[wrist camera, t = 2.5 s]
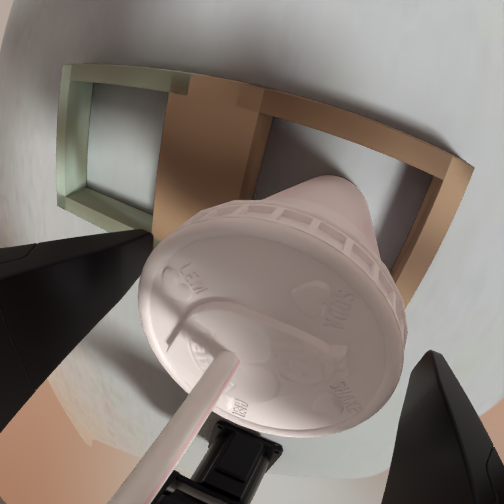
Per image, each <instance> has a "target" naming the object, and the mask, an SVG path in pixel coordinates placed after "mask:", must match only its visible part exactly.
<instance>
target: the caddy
mask: <svg viewBox="0 0 504 504" xmlns="http://www.w3.org/2000/svg"><path fill="white" fill-rule="evenodd" d="M93 82H94V83H104V84H113V85H122V86H130V87H137V88H144V89H151V90H157V91H163V92H169V96H168V101H167V107H166V114H165V120H164V126H163V133H162V140H161V148H160V155H159V163H158V171H157V180H156V190H155V200H154V211H153V215H151V214H148V213H146V212H143V211H141V210H139V209H136V208H134V207H131V206H129V205H127V204H124V203H122V202H120V201H117V200H115V199H112V198H110V197H108V196H105V195H103V194H100V193H98V192H96V191H93V190H91V189H89V188H86V176H87V148H88V131H89V119H90V108H91V98H92V90H93ZM273 116H274V117H278V118H281V119H285V120H288V121H291V122H295V123H298V124H301V125H304V126H308V127H311V128H314V129H317V130H320V131H323V132H326V133H329V134H332V135H335V136H338V137H340V138H343V139H346V140H349V141H352V142H354V143H357V144H360V145H362V146H365V147H368V148H370V149H373V150H375V151H378V152H380V153H383V154H385V155H388V156H390V157H393V158H395V159H397V160H400V161H402V162H405V163H407V164H409V165H411V166H414V167H416V168H418V169H420V170H423V171H425V172H427V173H429V174H431V175H433V178H432V181H431V183H430V186H429V188H428V191H427V193H426V196H425V198H424V200H423V203H422V205H421V207H420V210H419V212H418V214H417V217H416V219H415V221H414V223H413V226H412V228H411V230H410V232H409V234H408V237H407V239H406V241H405V243H404V245H403V247H402V249H401V251H400V254H399V256H398V258H397V260H396V262H395V264H394V266H393V268H392V270H391V272H390V274H391V276H392V278H393V280H394V282H395V284H396V286H397V288H398V290H399V292H400V294H401V296H402V299H403V302H404V308H406V307H407V305H408V303H409V302H410V300H411V298H412V297H413V295H414V293H415V291H416V290H417V288H418V286H419V284H420V283H421V281H422V279H423V277H424V275H425V274H426V272H427V270H428V268H429V266H430V264H431V263H432V261H433V259H434V257H435V255H436V253H437V251H438V249H439V247H440V245H441V243H442V241H443V239H444V237H445V235H446V233H447V231H448V229H449V227H450V224H451V222H452V220H453V218H454V216H455V214H456V211H457V209H458V207H459V205H460V202H461V200H462V198H463V195H464V193H465V191H466V188H467V186H468V183H469V181H470V178H471V176H472V173H473V171H474V167H473V166H471V165H470V164H469V163H467V162H466V161H464V160H463V159H461V158H459V157H457V156H455V155H453V154H451V153H449V152H447V151H445V150H443V149H441V148H439V147H436V146H434V145H432V144H430V143H428V142H426V141H423V140H421V139H419V138H416V137H414V136H412V135H410V134H407V133H405V132H402V131H400V130H398V129H395V128H393V127H390V126H388V125H385V124H383V123H380V122H377V121H375V120H372V119H369V118H367V117H364V116H361V115H358V114H355V113H353V112H350V111H347V110H344V109H341V108H338V107H335V106H332V105H328V104H325V103H322V102H319V101H315V100H312V99H309V98H305V97H302V96H298V95H294V94H291V93H287V92H283V91H279V90H275V89H271V88H267V87H263V86H259V85H254V84H250V83H245V82H241V81H236V80H231V79H226V78H220V77H215V76H209V75H203V74H197V73H190V72H184V71H176V70H168V69H160V68H151V67H140V66H128V65H113V64H64V65H63V66H62V74H61V82H60V92H59V103H58V117H57V139H56V185H57V206H59V207H61V208H63V209H65V210H67V211H69V212H70V213H72V214H74V215H76V216H78V217H80V218H82V219H84V220H86V221H88V222H90V223H92V224H94V225H96V226H98V227H100V228H102V229H104V230H106V231H108V232H118V231H125V230H133V229H144V230H147V231H149V232H151V233H152V234H153V236H154V243H153V250H154V249H155V247H156V246H157V245H158V244H159V243H160V242H161V241H162V240H163V239H165V238H166V237H167V236H168V235H170V234H171V233H173V232H174V231H175V230H176V228H178V227H179V226H180V225H182V224H183V223H185V222H186V221H187V220H189V219H190V218H191V217H193V216H194V215H195V214H197V213H198V212H199V211H201V210H204V209H208V208H211V207H214V206H217V205H220V204H224V203H227V202H230V201H233V200H253V196H254V192H255V187H256V183H257V179H258V175H259V171H260V167H261V163H262V159H263V155H264V151H265V147H266V143H267V139H268V135H269V131H270V127H271V123H272V119H273Z"/></svg>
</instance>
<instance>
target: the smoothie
mask: <svg viewBox="0 0 504 504" xmlns="http://www.w3.org/2000/svg"><path fill="white" fill-rule="evenodd" d="M138 307H139V313H140V318H141V322H142V326H143V329H144V332H145V334H146V337H147V339H148V342H149V344H150V346H151V348H152V350H153V351H154V353H155V355H156V356H157V358H158V360H159V362H160V363H161V364H162V366H163V367H164V368H165V369H166V371H167V372H168V373H169V375H170V376H171V377H172V378H173V379H174V380H175V381H176V382H177V383H178V384H179V385H180V386H181V387H182V388H183V389H184V390H185V391H186V392H187V393H188V394H189V395H188V396H187V398H186V399H185V400H184V402H183V403H182V404H181V406H180V407H179V409H178V410H177V411H176V413H175V414H174V416H173V417H172V418H171V420H170V421H169V422H168V424H167V425H166V426H165V428H164V429H163V431H162V432H161V433H160V435H159V436H158V437H157V439H156V440H155V441H154V443H153V444H152V445H151V447H150V448H149V449H148V451H147V452H146V453H145V455H144V456H143V457H142V459H141V460H140V461H139V463H138V464H137V466H136V467H135V468H134V469H133V471H132V472H131V473H130V475H129V476H128V477H127V479H126V480H125V481H124V483H123V484H122V485H121V487H120V488H119V489H118V490H117V492H116V493H115V494H114V496H113V497H112V498H111V500H110V501H109V502H108V503H107V504H150V503H151V502H152V501H153V499H154V498H155V496H156V495H157V493H158V492H159V491H160V489H161V488H162V486H163V485H164V483H165V482H166V480H167V479H168V477H169V476H170V474H171V473H172V471H173V470H174V468H175V467H176V465H177V464H178V462H179V461H180V459H181V458H182V456H183V455H184V453H185V452H186V450H187V449H188V447H189V446H190V444H191V443H192V441H193V440H194V438H195V437H196V435H197V434H198V432H199V430H200V429H201V427H202V426H203V424H204V423H205V421H206V419H207V418H208V416H209V415H210V413H211V412H212V411H213V412H215V413H216V414H218V415H220V416H221V417H223V418H226V419H228V420H230V421H232V422H234V423H236V424H238V425H241V426H244V427H247V428H249V429H252V430H255V431H258V432H263V433H267V434H272V435H277V436H285V437H297V438H304V437H320V436H325V435H330V434H334V433H339V432H342V431H344V430H347V429H350V428H352V427H354V426H357V425H359V424H361V423H362V422H364V421H366V420H367V419H369V418H370V417H371V416H373V415H374V414H375V413H377V412H378V411H379V410H380V409H381V408H382V407H383V406H384V405H385V403H386V402H387V401H388V400H389V399H390V397H391V395H392V394H393V392H394V391H395V389H396V386H397V384H398V382H399V379H400V376H401V372H402V367H403V360H404V348H405V344H406V339H407V334H408V331H407V323H406V316H405V308H404V302H403V299H402V296H401V294H400V292H399V290H398V288H397V286H396V284H395V282H394V280H393V278H392V276H391V274H390V273H389V271H388V269H387V267H386V265H385V264H384V263H383V262H382V261H381V258H380V254H379V249H378V245H377V241H376V236H375V232H374V228H373V224H372V220H371V216H370V212H369V209H368V205H367V202H366V199H365V197H364V196H363V194H362V192H361V191H360V190H359V189H358V188H357V187H356V186H355V185H354V184H353V183H351V182H350V181H348V180H346V179H344V178H341V177H338V176H333V175H323V176H318V177H315V178H312V179H310V180H307V181H305V182H303V183H300V184H298V185H295V186H293V187H291V188H288V189H286V190H283V191H281V192H279V193H276V194H274V195H272V196H269V197H267V198H265V199H262V200H233V201H230V202H227V203H224V204H220V205H217V206H214V207H211V208H208V209H204V210H201V211H199V212H198V213H197V214H195V215H194V216H193V217H191V218H190V219H189V220H187V221H186V222H185V223H183V224H182V225H180V226H179V227H178V228H176V230H175V231H174V232H173V233H171V234H170V235H168V236H167V237H166V238H165V239H163V240H162V241H161V242H160V243H159V244H158V245H157V246H156V247H155V249H154V250H153V251H152V253H151V254H150V256H149V257H148V259H147V261H146V263H145V265H144V267H143V270H142V273H141V276H140V281H139V287H138Z"/></svg>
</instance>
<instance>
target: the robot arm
mask: <svg viewBox="0 0 504 504" xmlns="http://www.w3.org/2000/svg"><path fill="white" fill-rule="evenodd" d="M153 243H154V236H153V234H152V233H151V232H149V231H147V230H144V229H133V230H125V231H118V232H110V233H103V234H95V235H88V236H81V237H74V238H67V239H61V240H54V241H47V242H41V243H38V244H37V243H34V244H28V245H21V246H14V247H6V248H0V433H1V431H2V430H3V429H4V428H5V427H6V425H7V424H8V423H9V422H10V421H11V419H12V418H13V417H14V416H15V415H16V413H17V412H18V411H19V410H20V409H21V408H22V406H23V405H24V404H25V403H26V402H27V401H28V399H29V398H30V397H31V396H32V395H33V394H34V392H35V391H36V390H37V389H38V387H39V386H40V385H41V384H42V383H43V382H44V381H45V380H46V379H47V377H48V376H49V375H50V374H51V373H52V372H53V371H54V370H55V369H56V367H57V366H58V365H59V364H60V363H61V362H62V361H63V360H64V359H65V358H66V356H67V355H68V354H69V353H70V352H71V351H72V350H73V349H74V348H75V347H76V346H77V345H78V343H79V342H80V341H81V340H82V339H83V338H84V337H85V336H86V335H87V334H88V333H89V332H90V331H91V330H92V329H93V328H94V327H95V326H96V324H97V323H98V322H99V321H100V320H101V319H102V318H103V317H104V316H105V315H106V314H107V313H108V312H109V311H110V310H111V309H112V308H113V307H114V306H115V305H116V304H117V303H118V302H119V301H120V300H121V299H122V297H123V296H124V295H125V294H126V293H127V291H128V290H129V289H130V288H131V286H132V285H133V284H134V283H135V281H136V280H137V279H138V278H139V276H140V275H141V273H142V270H143V267H144V265H145V263H146V261H147V259H148V257H149V256H150V254H151V253H152V251H153ZM208 448H209V449H208V451H207V453H206V454H205V456H204V458H203V459H202V461H201V463H200V464H199V466H198V467H197V469H196V471H195V472H194V474H193V475H192V477H191V479H189V478H187V477H185V476H183V475H181V474H180V473H179V472H177V471H175V470H173V471H172V473H171V474H170V476H169V477H168V479H167V480H166V482H165V483H164V485H163V486H162V488H161V489H160V491H159V492H158V493H157V495H156V496H155V498H154V499H153V501H152V502H151V503H150V504H250V503H251V501H252V499H253V497H254V495H255V493H256V491H257V489H258V486H259V484H260V482H261V480H262V478H263V476H264V474H265V473H266V472H267V471H268V470H269V468H270V467H271V466H272V465H273V464H274V463H275V462H276V460H277V459H278V458H279V457H280V456H281V455H282V452H283V449H282V448H281V447H279V446H276V445H274V444H271V443H269V442H267V441H264V440H262V439H259V438H257V437H255V436H253V435H250V434H248V433H246V432H243V431H241V430H239V429H237V428H235V427H233V426H230V425H228V424H226V423H224V422H222V421H217V422H216V424H215V426H214V430H213V433H212V436H211V439H210V442H209V445H208ZM0 504H6V503H5V502H4V501H3V500H2V499H1V497H0ZM381 504H504V465H503V463H502V461H501V459H500V457H499V455H498V453H497V451H496V449H495V447H493V443H492V441H491V439H490V437H489V435H488V433H487V432H486V430H485V428H484V426H483V424H482V422H481V420H480V418H479V417H478V415H477V413H476V411H475V409H474V407H473V406H472V404H471V402H470V400H469V399H468V397H467V395H466V393H465V392H464V390H463V388H462V387H461V385H460V383H459V382H458V380H457V378H456V377H455V375H454V373H453V372H452V370H451V368H450V367H449V365H448V363H447V362H446V360H445V359H444V357H443V355H442V354H440V353H438V352H435V351H432V350H429V351H427V352H426V353H425V355H424V356H423V357H422V358H421V360H420V361H419V362H418V364H417V365H416V366H415V367H414V369H413V370H412V372H411V375H410V379H409V383H408V388H407V392H406V396H405V400H404V404H403V408H402V412H401V415H400V420H399V424H398V430H397V435H396V441H395V446H394V452H393V457H392V461H391V466H390V471H389V475H388V479H387V484H386V488H385V492H384V495H383V499H382V503H381Z"/></svg>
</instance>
